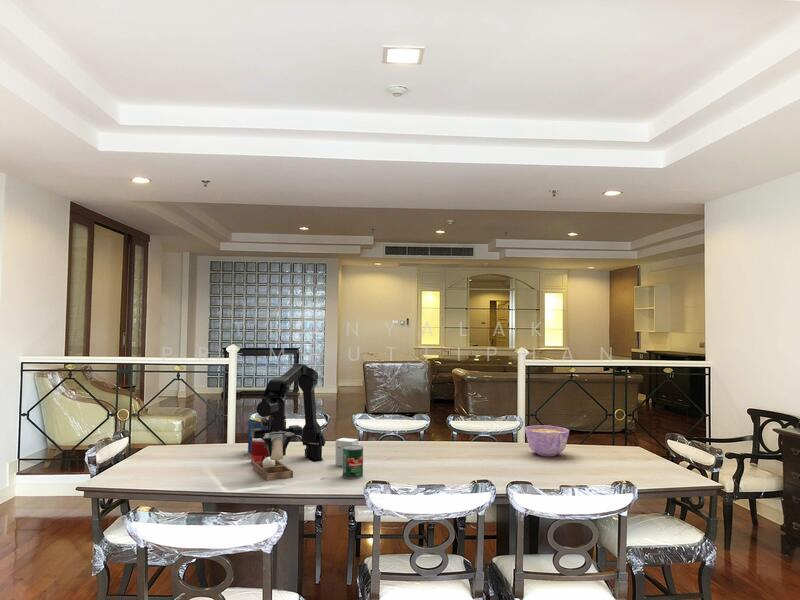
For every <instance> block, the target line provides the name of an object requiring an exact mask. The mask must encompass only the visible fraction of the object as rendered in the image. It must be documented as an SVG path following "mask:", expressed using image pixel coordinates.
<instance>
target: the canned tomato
mask: <svg viewBox="0 0 800 600" xmlns="http://www.w3.org/2000/svg"><path fill="white" fill-rule="evenodd" d="M363 477H364V446H362V445H359V444H358V445H349V446H344V447H343V466H342V478H345V479H353V480H354V479H355V480H357V479H361V478H363Z"/></svg>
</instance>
